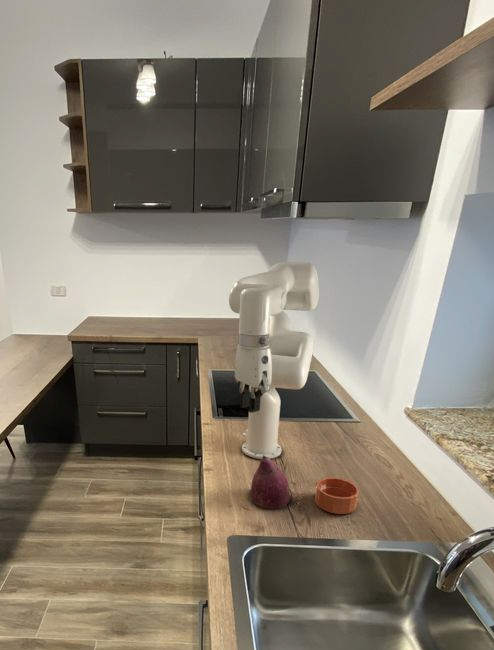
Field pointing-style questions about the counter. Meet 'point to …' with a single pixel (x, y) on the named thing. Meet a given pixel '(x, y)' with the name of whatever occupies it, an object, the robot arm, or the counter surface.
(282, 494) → the vegetable
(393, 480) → the counter surface
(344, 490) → the bowl
